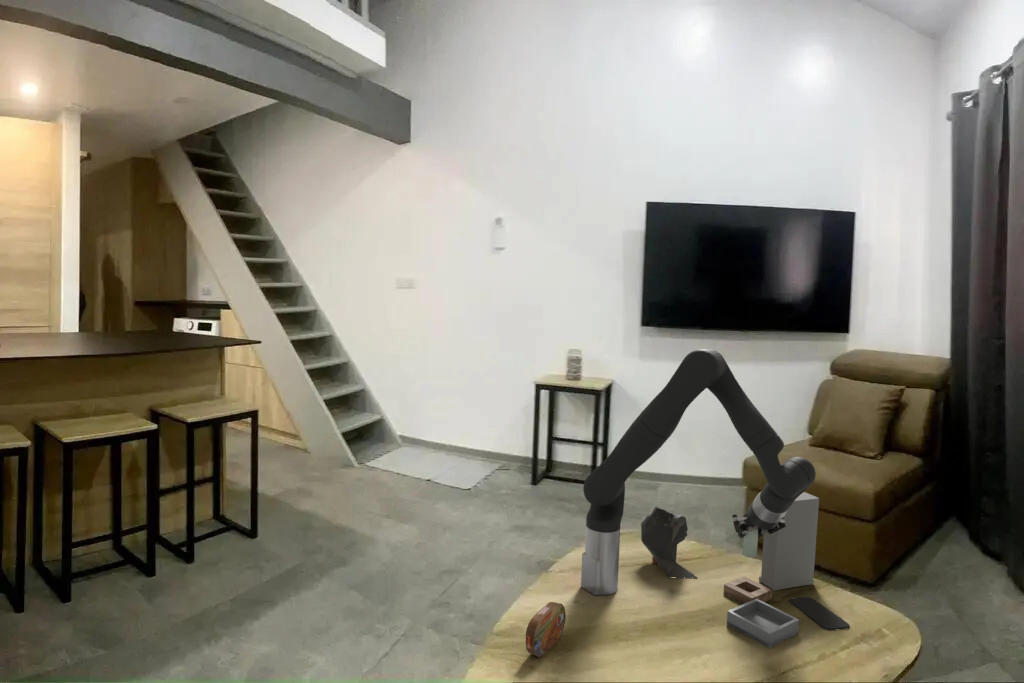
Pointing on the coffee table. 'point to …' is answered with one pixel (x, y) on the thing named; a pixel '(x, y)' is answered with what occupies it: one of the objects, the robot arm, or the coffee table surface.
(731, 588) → the brown hollow square block
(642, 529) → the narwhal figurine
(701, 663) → the coffee table surface
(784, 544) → the tall grey upright box
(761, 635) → the tray
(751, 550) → the pale green rounded cylinder
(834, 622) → the phone
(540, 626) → the tin
